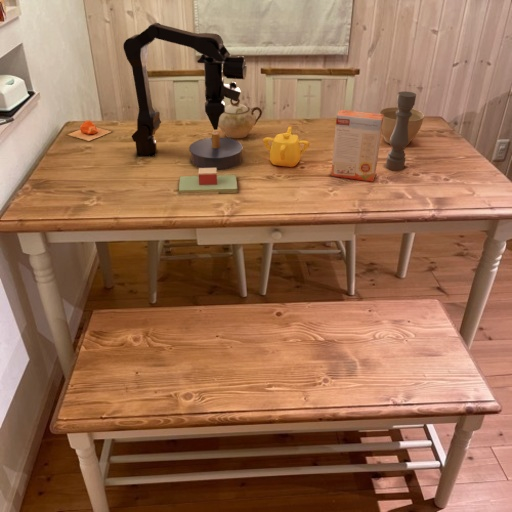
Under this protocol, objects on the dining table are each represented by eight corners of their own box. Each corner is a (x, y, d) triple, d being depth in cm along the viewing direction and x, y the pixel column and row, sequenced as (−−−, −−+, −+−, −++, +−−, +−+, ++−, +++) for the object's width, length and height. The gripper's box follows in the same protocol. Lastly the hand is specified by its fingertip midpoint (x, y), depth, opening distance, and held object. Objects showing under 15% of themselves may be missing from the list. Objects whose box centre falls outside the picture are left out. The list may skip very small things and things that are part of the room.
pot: (191, 171, 173) (190, 159, 171) (192, 151, 188) (191, 139, 185) (242, 170, 175) (242, 158, 172) (240, 150, 189) (240, 138, 186)
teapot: (258, 158, 183) (259, 130, 177) (289, 151, 189) (290, 123, 183) (279, 172, 173) (280, 143, 168) (310, 165, 179) (313, 136, 173)
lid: (188, 161, 171) (187, 144, 167) (190, 140, 186) (188, 124, 182) (244, 160, 172) (244, 142, 169) (241, 139, 187) (241, 123, 184)
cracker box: (375, 175, 172) (384, 113, 161) (372, 182, 168) (382, 119, 156) (334, 169, 176) (340, 108, 164) (330, 176, 171) (336, 114, 160)
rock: (89, 141, 195) (87, 130, 192) (66, 134, 200) (64, 124, 198) (112, 131, 203) (110, 121, 201) (90, 125, 208) (88, 115, 206)
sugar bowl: (210, 142, 195) (209, 103, 186) (211, 128, 207) (209, 90, 199) (262, 142, 196) (263, 102, 187) (260, 128, 208) (260, 90, 200)
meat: (199, 185, 162) (198, 173, 160) (199, 179, 165) (198, 168, 163) (217, 184, 162) (216, 173, 160) (216, 179, 165) (216, 167, 163)
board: (179, 194, 160) (178, 190, 159) (180, 180, 168) (180, 176, 167) (237, 192, 161) (237, 188, 160) (235, 178, 169) (235, 174, 168)
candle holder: (405, 165, 179) (418, 92, 165) (401, 172, 175) (415, 98, 161) (387, 162, 181) (399, 90, 167) (383, 168, 177) (395, 95, 163)
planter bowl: (424, 139, 200) (429, 111, 194) (410, 152, 188) (416, 123, 182) (384, 130, 207) (388, 103, 201) (369, 143, 195) (373, 115, 189)
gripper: (240, 85, 158) (240, 134, 167) (237, 69, 173) (238, 115, 182) (203, 85, 157) (206, 135, 166) (204, 69, 173) (206, 115, 181)
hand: (215, 124), depth 174 cm, fingers open, 9 cm apart
